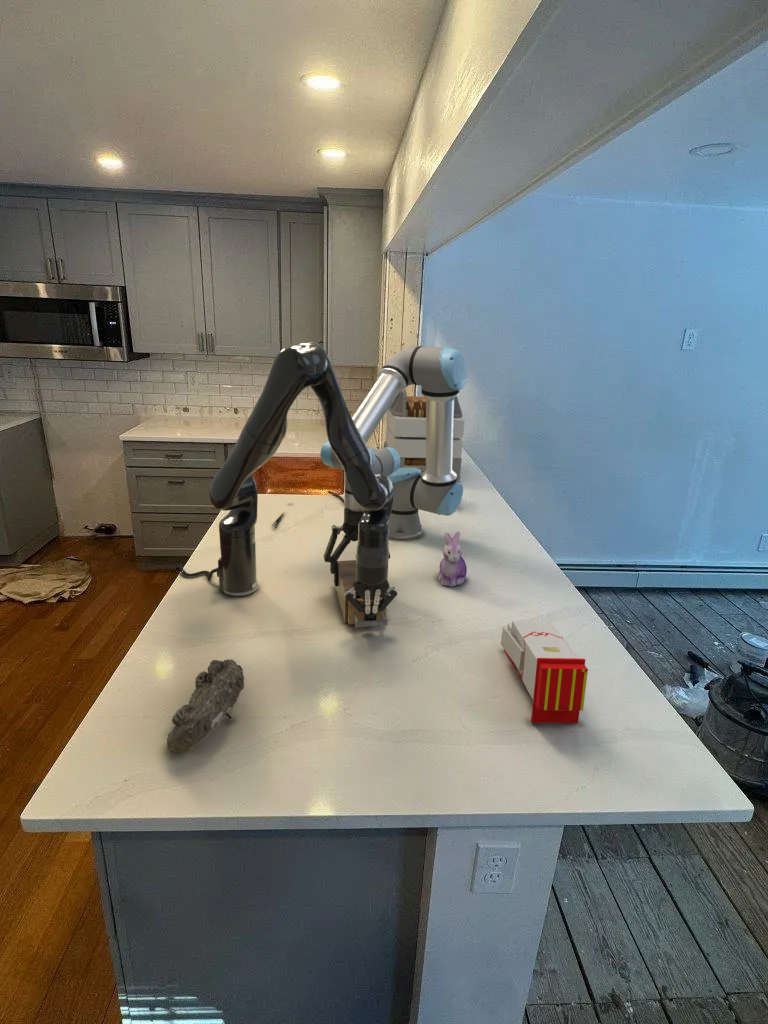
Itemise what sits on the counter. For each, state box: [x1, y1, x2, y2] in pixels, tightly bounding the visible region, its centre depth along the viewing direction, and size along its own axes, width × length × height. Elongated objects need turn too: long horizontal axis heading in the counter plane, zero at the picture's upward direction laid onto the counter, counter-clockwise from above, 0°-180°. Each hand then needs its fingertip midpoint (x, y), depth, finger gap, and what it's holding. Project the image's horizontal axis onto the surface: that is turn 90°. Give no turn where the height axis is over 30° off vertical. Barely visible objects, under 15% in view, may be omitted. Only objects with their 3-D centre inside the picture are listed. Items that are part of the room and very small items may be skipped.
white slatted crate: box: [383, 389, 465, 483], centre depth 268 cm, size 34×33×41 cm
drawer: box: [347, 596, 388, 628], centre depth 145 cm, size 23×9×6 cm, turn 12°
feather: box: [273, 503, 291, 529], centre depth 211 cm, size 2×28×2 cm
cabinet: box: [334, 559, 386, 624], centre depth 151 cm, size 19×11×8 cm, turn 12°
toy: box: [500, 620, 589, 724], centre depth 121 cm, size 12×13×30 cm
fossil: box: [166, 658, 245, 754], centre depth 106 cm, size 22×10×15 cm
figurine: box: [438, 530, 468, 587], centre depth 165 cm, size 9×10×15 cm
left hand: (369, 625), depth 137 cm, fingers closed
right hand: (356, 582), depth 156 cm, fingers closed on cabinet, 11 cm apart
